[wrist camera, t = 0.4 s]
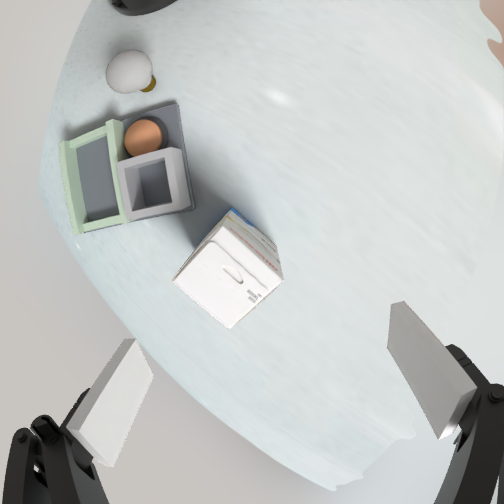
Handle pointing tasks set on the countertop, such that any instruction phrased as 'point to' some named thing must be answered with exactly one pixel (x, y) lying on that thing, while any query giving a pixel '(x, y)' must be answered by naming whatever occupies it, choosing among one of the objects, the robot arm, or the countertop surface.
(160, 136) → the checker pad
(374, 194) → the countertop surface
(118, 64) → the light bulb
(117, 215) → the compartment tray
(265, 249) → the ink box
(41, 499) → the robot arm
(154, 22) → the countertop surface
